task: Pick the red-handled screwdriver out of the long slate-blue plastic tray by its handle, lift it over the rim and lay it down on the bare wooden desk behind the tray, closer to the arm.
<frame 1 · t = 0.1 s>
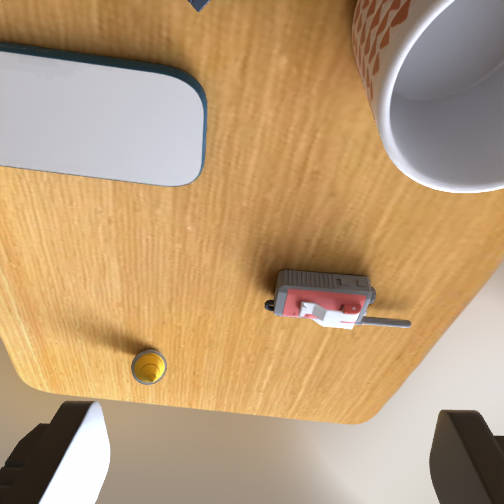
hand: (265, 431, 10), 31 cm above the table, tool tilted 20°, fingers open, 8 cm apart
walkie-talkie: (342, 293, 56), on the table
external hard drive: (78, 111, 39), on the table
planter: (442, 16, 32), on the table
yellow cone: (151, 349, 68), on the table
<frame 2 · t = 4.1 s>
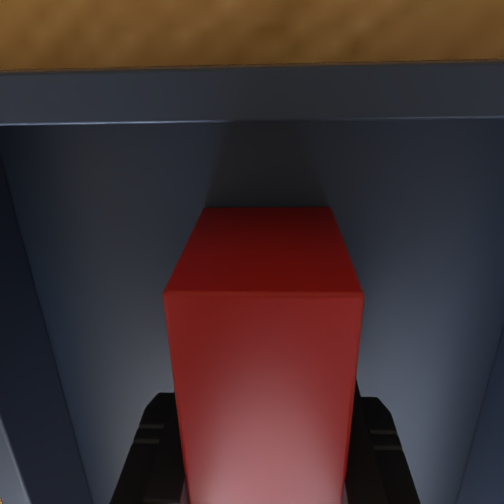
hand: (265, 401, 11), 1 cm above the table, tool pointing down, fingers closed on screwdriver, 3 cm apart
tray: (268, 481, 14), on the table
screwdriver: (268, 453, 13), resting on tray, touching gripper
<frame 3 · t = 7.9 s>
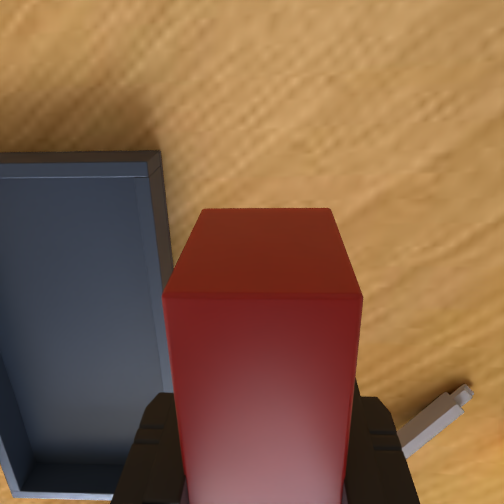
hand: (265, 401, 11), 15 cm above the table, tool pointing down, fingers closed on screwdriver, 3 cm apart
tray: (84, 337, 30), on the table
caliper: (351, 451, 33), on the table
screwdriver: (268, 453, 13), point 14 cm above the table, touching gripper
when the fingers open (1 cm above the table, at t = 11.5 s): screwdriver stays where it is, on the table.
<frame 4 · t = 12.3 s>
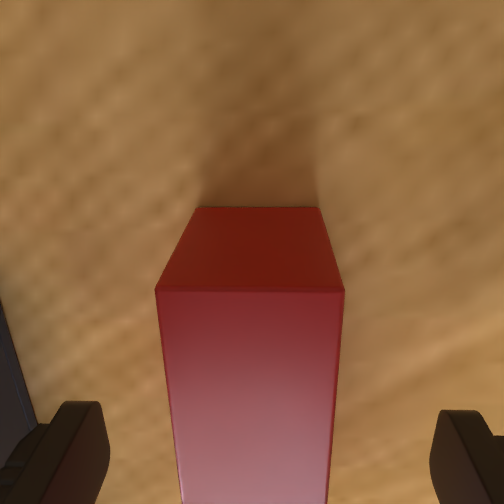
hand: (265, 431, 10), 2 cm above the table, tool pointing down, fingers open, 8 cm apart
screwdriver: (260, 446, 14), on the table
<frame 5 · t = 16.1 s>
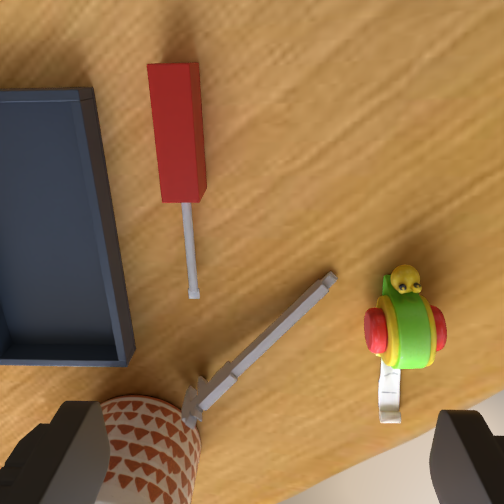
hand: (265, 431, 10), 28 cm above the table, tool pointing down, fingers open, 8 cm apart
tray: (45, 235, 40), on the table
caliper: (256, 333, 43), on the table
toy measuring tape: (391, 341, 43), on the table
planter: (144, 436, 50), on the table
screwdriver: (188, 165, 36), on the table
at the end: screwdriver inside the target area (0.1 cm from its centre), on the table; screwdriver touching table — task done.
